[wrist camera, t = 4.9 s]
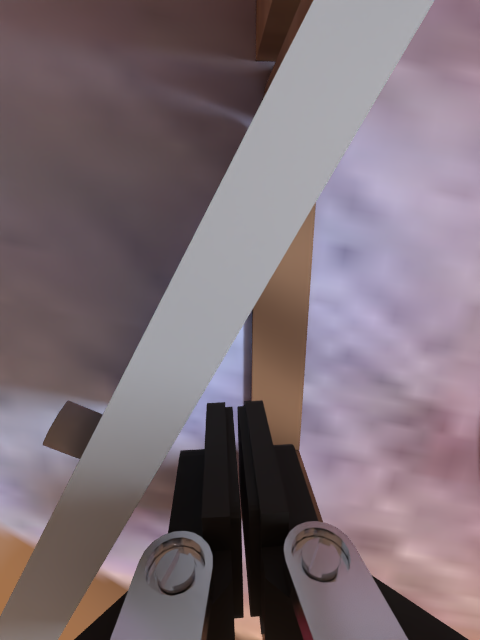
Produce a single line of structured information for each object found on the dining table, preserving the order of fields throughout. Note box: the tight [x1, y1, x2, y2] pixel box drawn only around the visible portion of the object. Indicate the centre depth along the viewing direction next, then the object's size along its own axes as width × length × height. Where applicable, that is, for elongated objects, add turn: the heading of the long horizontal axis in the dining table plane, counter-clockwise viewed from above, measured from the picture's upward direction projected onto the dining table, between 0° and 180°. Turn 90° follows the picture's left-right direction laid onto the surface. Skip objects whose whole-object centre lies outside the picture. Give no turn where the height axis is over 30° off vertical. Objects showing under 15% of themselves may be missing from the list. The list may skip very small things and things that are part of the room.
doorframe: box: [251, 0, 323, 640], centre depth 10 cm, size 24×2×11 cm, turn 0°
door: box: [0, 0, 434, 640], centre depth 10 cm, size 13×2×9 cm, turn 151°
